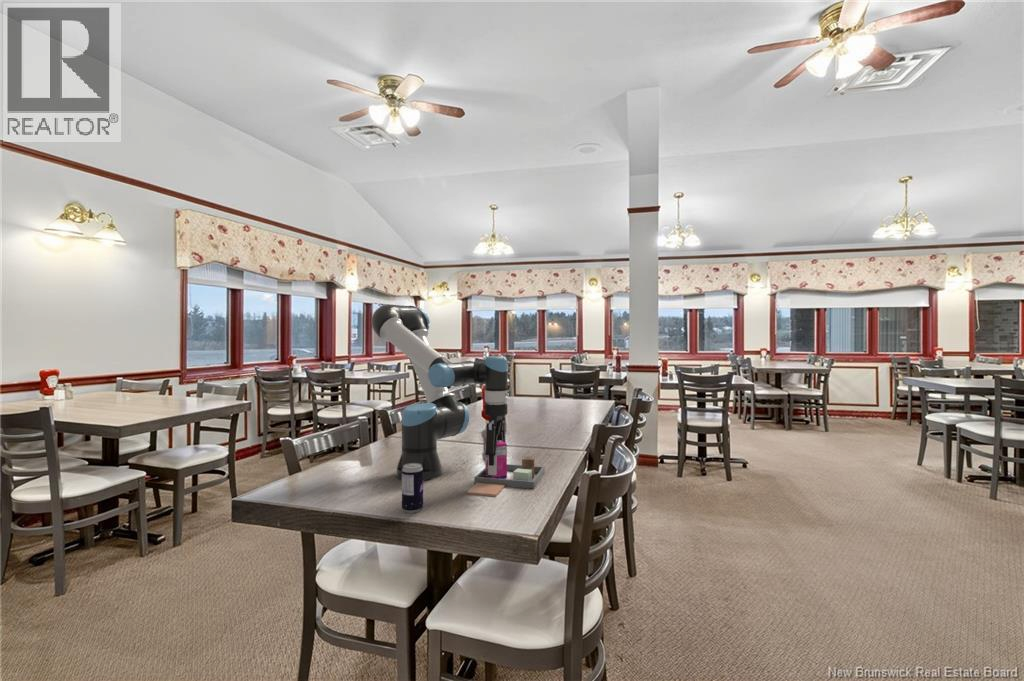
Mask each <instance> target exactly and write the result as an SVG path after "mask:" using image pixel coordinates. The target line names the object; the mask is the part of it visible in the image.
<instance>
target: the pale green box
mask: <svg viewBox="0 0 1024 681" xmlns="http://www.w3.org/2000/svg"><path fill="white" fill-rule="evenodd" d="M512 472H513V474H512V475H513V478H512V480H524V481H533V478H532V470H529V469H519V468H517V469H516V470H515V471H512Z"/></svg>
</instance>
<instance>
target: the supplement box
mask: <svg viewBox="0 0 1024 681" xmlns="http://www.w3.org/2000/svg"><path fill="white" fill-rule="evenodd" d="M507 446H508V444H507V442H506V443H505V442H503V441H501V440H497V446H496V455H497V475H488V455H485V453H486V441H484V457H485V458H484V465H485V467H484V468H485V476H487V478H498V479H508V471H507V464H508V454H507V453H508V451H507V450H508V449H507Z"/></svg>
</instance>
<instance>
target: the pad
mask: <svg viewBox="0 0 1024 681" xmlns="http://www.w3.org/2000/svg"><path fill="white" fill-rule="evenodd" d="M505 487H506V486H505V485H498V484H486V483H476V484H474V485H473V486H472V487H471V488H470V489H468V491H466V494H467V495H475V496H486V497H497V496H498V495H499V494H500V493H501V492H502V490H504V489H505Z"/></svg>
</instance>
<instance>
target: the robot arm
mask: <svg viewBox="0 0 1024 681" xmlns="http://www.w3.org/2000/svg"><path fill="white" fill-rule="evenodd" d="M430 322H431V321H430V316H429V315H428V313H427V312H426V311H425V309H423V308H422V307H420V306H415V305H397V304H384V305H382V306H379V307H378V308H376V310H375V311H374V312H373V314H372V317H371V326H372V330H373V332H374V333H375V334H376V335H377V336H378V338H380V339H381V340H382V341H384V342H389V343H391V344H392V345H393V347H395V348H396V349H398V350H399V351H400V352H402V353H403V355H405V356H406V357H408V359H410V361H411V364H412V366H413V369H414V371H415V374H416V376H417V377H416V378H417V379H418V382H419V384H420V386H421V389H422V391H423V392H422V393H423V394H424V396H425V399H426V402H421V403H414V404H411V405H409V406H406V407H404V409H403V410H402V413H401V419H400V421H401V422H400V424H401V455H400V457H399V460H398V464H397V467H396V472H395V473H396V474H395V475H396V477H397V478H398V479H400V480H402V469H403V466H404V465H405V464H409V463H419V464H421V465H422V468H423V481H427V480H432V479H436V478H439V477H440V476H441V475H442V474H443V466H442V463H441V460H440V456H439V454H438V448H437V446H438V445H437V444H438V442H437V441H438V440H441V439H446V438H451V437H456V436H457V435H461V434H462V433H464V432H465V431H466V430H467V428H468V426H469V423H470V411H469V408H468V407H467V405H466V404H464V403H463V402H461V401H458V399H457V396H456V395H455V393H451V392H450V390H449V389H448V387H455V386H462V385H463V386H464V385H469V384H470V385H471V384H476V385H479V384H480V385H484V402H485V404H484V414H485V415H486V416H489V417H490V418H489V420H488V423H486V441H485V442H486V453H485V452H484V456H485V455H488V475H497V455H496V446H497V440H501V441H503V442H505V443H506V444H507V442H506V418H505V416H506V415H508V404H507V402H508V397H509V396H510V394H509V392H508V378H509V377H508V373H509V367H508V358H507V357H506V356H494V355H492V356H486V357H485V359H484V361H472V360H464V361H460V362H453V361H450V360H448V358H446V357H444V356H443V355H441V353H439V352H438V351H437V350H435V349H434V348H433V347H431V346H430V343H429V341H428V336H429V329H430V324H431V323H430Z"/></svg>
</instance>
